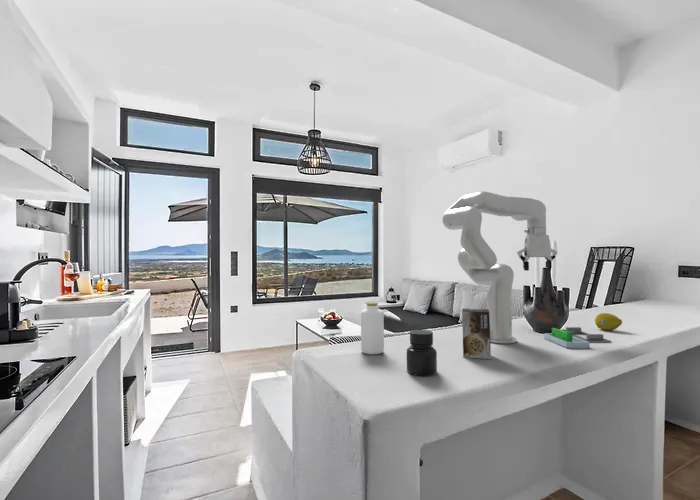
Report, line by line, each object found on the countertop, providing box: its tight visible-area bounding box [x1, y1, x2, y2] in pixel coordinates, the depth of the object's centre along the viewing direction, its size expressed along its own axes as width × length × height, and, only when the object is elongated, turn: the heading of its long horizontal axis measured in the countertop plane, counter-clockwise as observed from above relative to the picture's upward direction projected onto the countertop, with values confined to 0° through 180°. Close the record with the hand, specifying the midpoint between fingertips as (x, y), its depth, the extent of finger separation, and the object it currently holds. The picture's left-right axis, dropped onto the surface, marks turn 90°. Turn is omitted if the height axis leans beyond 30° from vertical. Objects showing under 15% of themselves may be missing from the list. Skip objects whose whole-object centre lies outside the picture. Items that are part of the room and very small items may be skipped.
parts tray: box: [543, 332, 591, 349], centre depth 139 cm, size 9×16×2 cm, turn 179°
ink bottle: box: [406, 329, 438, 377], centre depth 106 cm, size 10×9×12 cm
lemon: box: [594, 312, 623, 332], centre depth 163 cm, size 11×8×8 cm
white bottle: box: [360, 301, 385, 356], centre depth 129 cm, size 8×8×18 cm
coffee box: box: [461, 308, 492, 360], centre depth 123 cm, size 9×6×16 cm
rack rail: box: [565, 326, 612, 344], centre depth 150 cm, size 9×20×3 cm, turn 178°
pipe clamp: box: [551, 327, 573, 342], centre depth 139 cm, size 11×4×5 cm, turn 176°
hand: (537, 270), depth 157 cm, fingers open, 9 cm apart
